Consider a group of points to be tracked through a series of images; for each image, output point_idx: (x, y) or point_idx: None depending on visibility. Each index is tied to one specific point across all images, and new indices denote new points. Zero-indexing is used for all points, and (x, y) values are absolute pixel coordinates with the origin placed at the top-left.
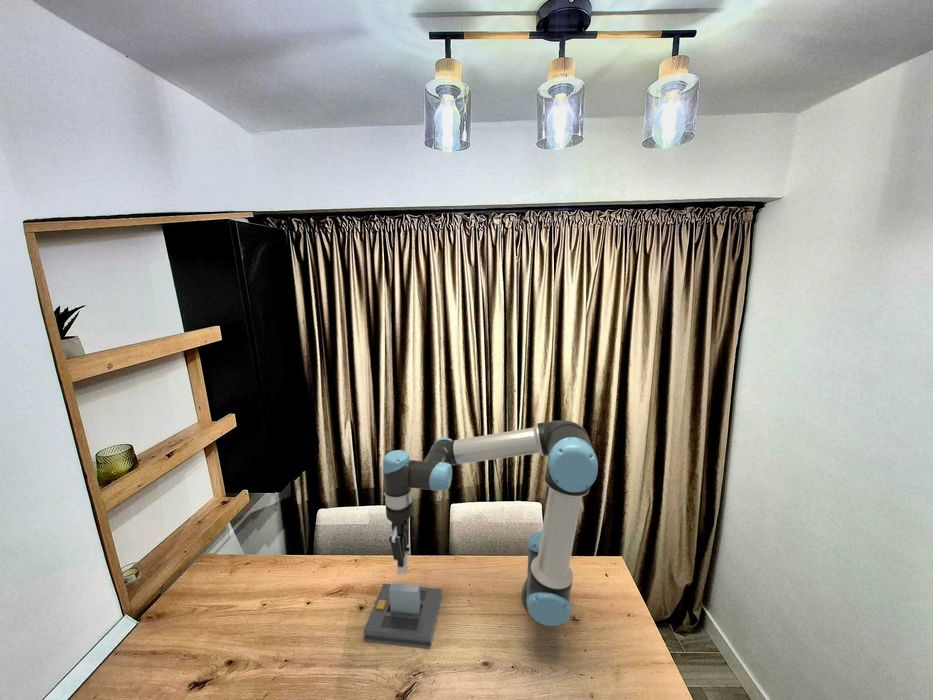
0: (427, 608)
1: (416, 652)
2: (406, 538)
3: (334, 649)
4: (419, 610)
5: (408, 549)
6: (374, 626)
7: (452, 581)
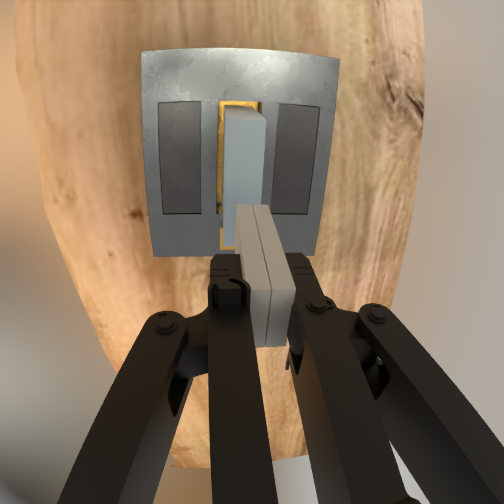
0: (232, 80)
1: (341, 97)
2: (214, 408)
3: (324, 289)
4: (241, 107)
5: (234, 292)
6: (304, 232)
7: (84, 41)
